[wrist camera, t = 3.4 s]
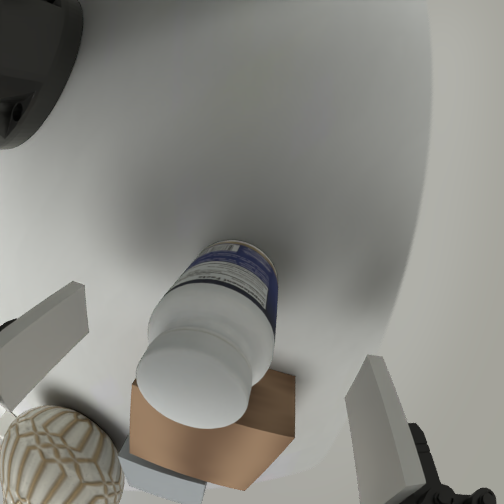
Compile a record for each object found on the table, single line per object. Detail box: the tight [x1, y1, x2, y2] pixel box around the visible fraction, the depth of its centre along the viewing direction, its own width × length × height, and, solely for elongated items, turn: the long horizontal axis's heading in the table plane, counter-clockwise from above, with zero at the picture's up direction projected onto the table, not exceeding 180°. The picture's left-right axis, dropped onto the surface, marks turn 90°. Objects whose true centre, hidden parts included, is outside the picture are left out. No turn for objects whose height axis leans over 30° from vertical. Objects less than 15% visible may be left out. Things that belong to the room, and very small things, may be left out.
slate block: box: [118, 433, 207, 504], centre depth 22 cm, size 8×8×6 cm
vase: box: [0, 405, 124, 504], centre depth 18 cm, size 16×16×20 cm
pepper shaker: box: [0, 411, 17, 449], centre depth 29 cm, size 4×4×10 cm
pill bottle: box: [136, 240, 278, 429], centre depth 13 cm, size 5×5×10 cm
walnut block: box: [130, 369, 295, 491], centre depth 19 cm, size 10×10×6 cm
